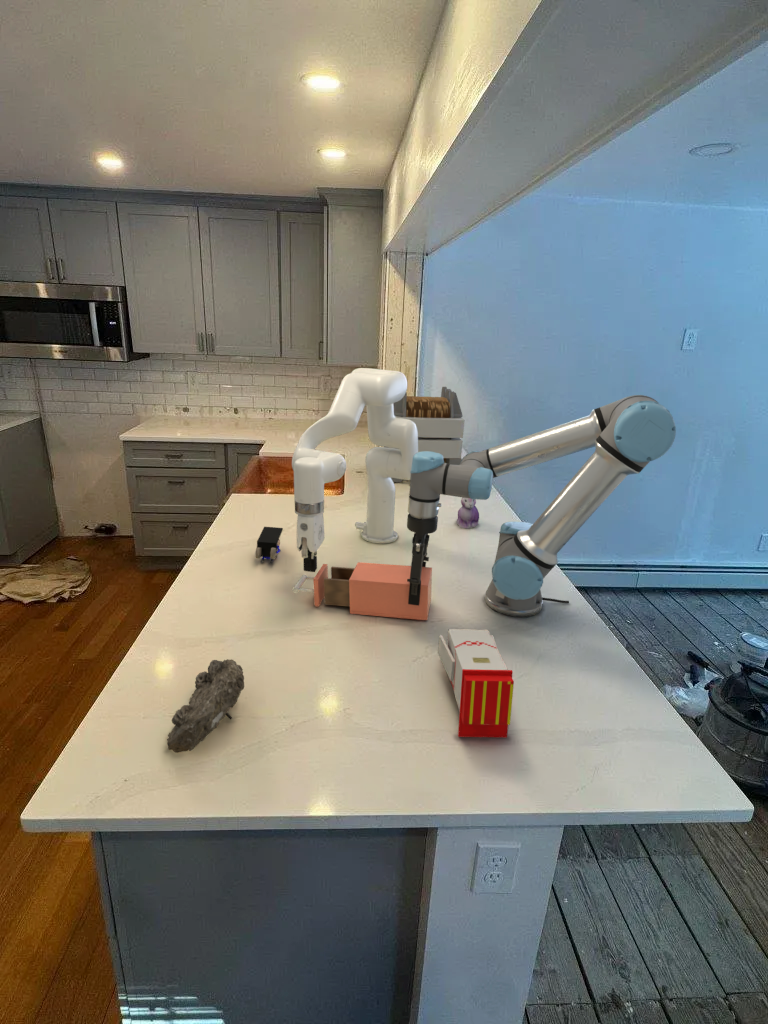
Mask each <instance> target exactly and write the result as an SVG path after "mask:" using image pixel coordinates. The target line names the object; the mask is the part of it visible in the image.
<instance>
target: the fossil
mask: <svg viewBox="0 0 768 1024" xmlns="http://www.w3.org/2000/svg"><path fill="white" fill-rule="evenodd" d="M243 670H244V669H243V667H242V665H240V664H237V662H236V661H235V660H234V659H232V658H231V659H227V658H226V659H224V660H223V661H222V660H217V659H212V660H211V661H210V663H209V665H208V666H207V671H201V672H199V673H198V674H197V675H196V676H195V680H194V684H195V685H194V687H195V689H194V690H193V693H192V694H191V697H190V698H189V700H188V704H184V705H182V706H181V707H180V709H177V710H176V711H175V713H174V715H173V716H172V718H171V723H172V724H173V727H172V730H171V731H170V732H168V734H167V738H166V741H167V742H166V745H167V749H168V750H169V751H173V752H174V753H176V754H178V753H182V752H188V751H189V752H192V751H193V750H195V748H196V747H197V746H199V744H200V743H201V742H203V741H204V740H205V739H206V738H207V737H208V736H209V735H210V734H211V733H212V732H214V730H215V729H217V727H218V726H219V724H220V722H221V721H222V720H223V719H224V718H225V716H226V717H227V719H229V720H233V717H232V715H230V714H229V710H230V709H231V708H234V706H235V704H236V703H237V702H238V699H239V697H240V695H241V693H242V691H243V690H245V689H244V688H245V675H244V671H243Z"/></svg>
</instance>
